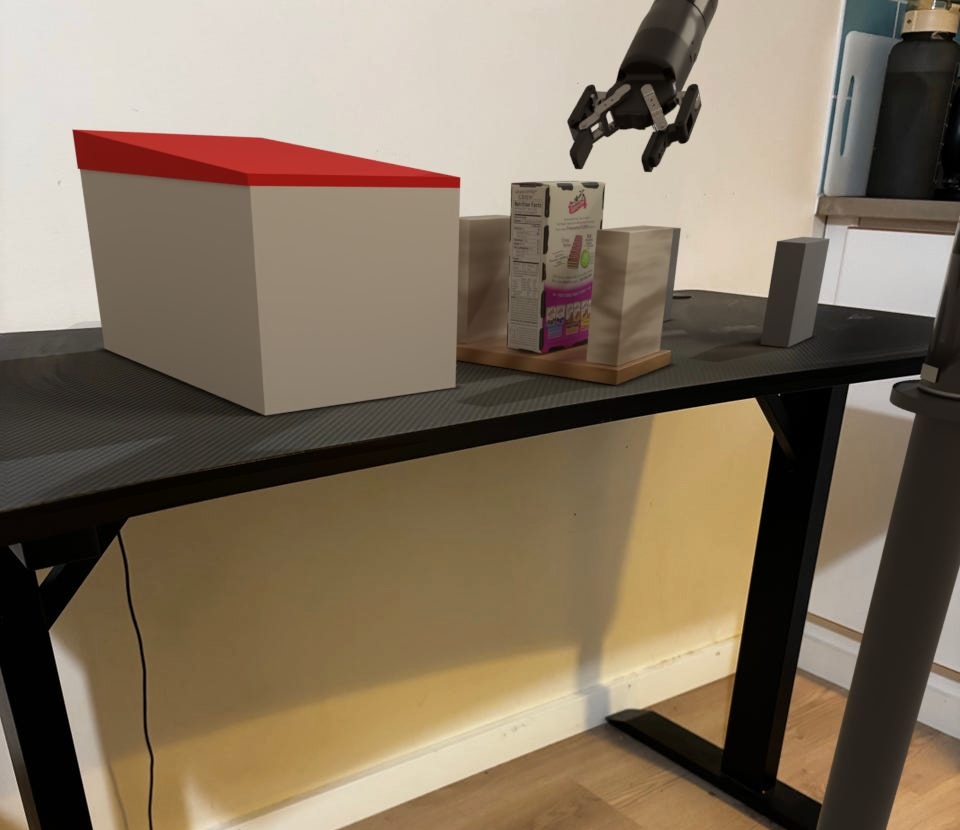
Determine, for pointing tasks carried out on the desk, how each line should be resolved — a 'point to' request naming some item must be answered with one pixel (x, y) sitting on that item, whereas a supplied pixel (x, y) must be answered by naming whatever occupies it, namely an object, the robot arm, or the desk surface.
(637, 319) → the shelf
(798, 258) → the grey books
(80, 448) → the desk surface
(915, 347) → the desk surface
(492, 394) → the desk surface
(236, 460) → the desk surface
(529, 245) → the candy bar box
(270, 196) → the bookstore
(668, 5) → the robot arm
